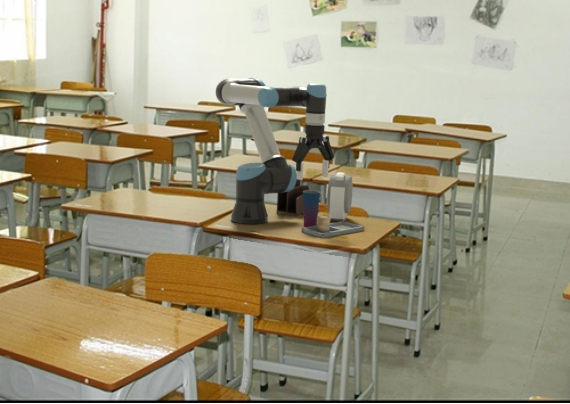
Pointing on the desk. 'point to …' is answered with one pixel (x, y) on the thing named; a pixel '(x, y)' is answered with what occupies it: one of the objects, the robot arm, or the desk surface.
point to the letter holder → (292, 200)
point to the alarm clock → (339, 196)
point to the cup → (310, 207)
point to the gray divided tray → (334, 229)
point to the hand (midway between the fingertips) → (312, 178)
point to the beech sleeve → (323, 224)
